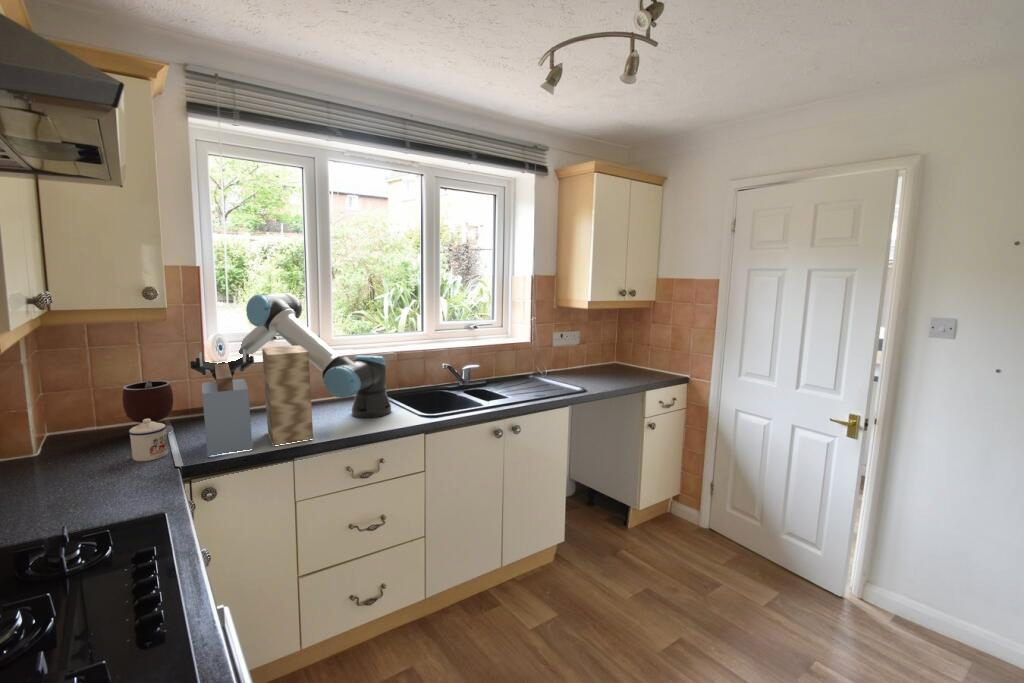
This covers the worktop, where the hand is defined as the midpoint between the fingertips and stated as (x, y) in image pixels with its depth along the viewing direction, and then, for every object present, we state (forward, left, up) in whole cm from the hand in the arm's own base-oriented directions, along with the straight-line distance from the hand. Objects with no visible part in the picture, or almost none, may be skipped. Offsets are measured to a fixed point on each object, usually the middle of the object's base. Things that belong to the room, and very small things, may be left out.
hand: (223, 354), depth 175 cm
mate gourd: (+23, -3, -27) cm, 35 cm away
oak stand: (-17, +25, -26) cm, 40 cm away
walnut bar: (+1, +20, -6) cm, 21 cm away
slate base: (+1, +25, -26) cm, 36 cm away
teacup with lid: (+21, +21, -27) cm, 40 cm away
